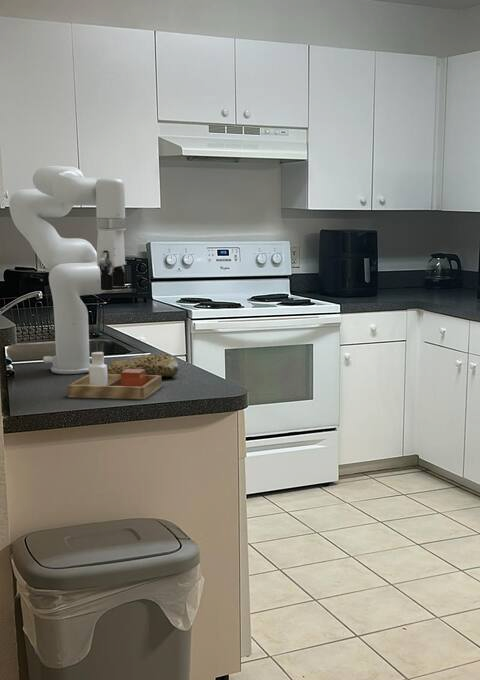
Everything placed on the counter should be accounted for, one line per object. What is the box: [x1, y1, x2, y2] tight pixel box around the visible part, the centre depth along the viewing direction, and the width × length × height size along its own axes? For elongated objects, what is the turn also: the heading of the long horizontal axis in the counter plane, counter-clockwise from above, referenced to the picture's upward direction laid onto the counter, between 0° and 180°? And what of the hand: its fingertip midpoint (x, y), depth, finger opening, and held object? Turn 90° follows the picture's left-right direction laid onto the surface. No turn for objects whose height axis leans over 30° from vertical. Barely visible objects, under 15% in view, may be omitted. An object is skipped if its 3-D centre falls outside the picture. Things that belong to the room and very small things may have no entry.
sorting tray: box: [67, 373, 163, 400], centre depth 237 cm, size 20×16×3 cm
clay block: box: [121, 369, 146, 387], centre depth 237 cm, size 5×5×5 cm
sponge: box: [107, 353, 180, 377], centre depth 254 cm, size 13×8×20 cm
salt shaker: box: [88, 351, 108, 386], centre depth 237 cm, size 4×4×10 cm
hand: (113, 288), depth 245 cm, fingers open, 9 cm apart
